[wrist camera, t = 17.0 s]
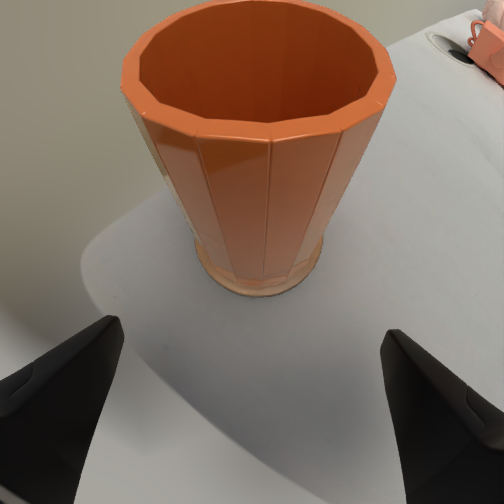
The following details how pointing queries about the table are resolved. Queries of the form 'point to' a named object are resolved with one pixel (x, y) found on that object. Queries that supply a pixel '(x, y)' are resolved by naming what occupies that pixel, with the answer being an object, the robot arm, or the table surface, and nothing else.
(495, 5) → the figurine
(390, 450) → the table surface
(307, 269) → the coaster
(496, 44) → the teapot
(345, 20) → the cup
